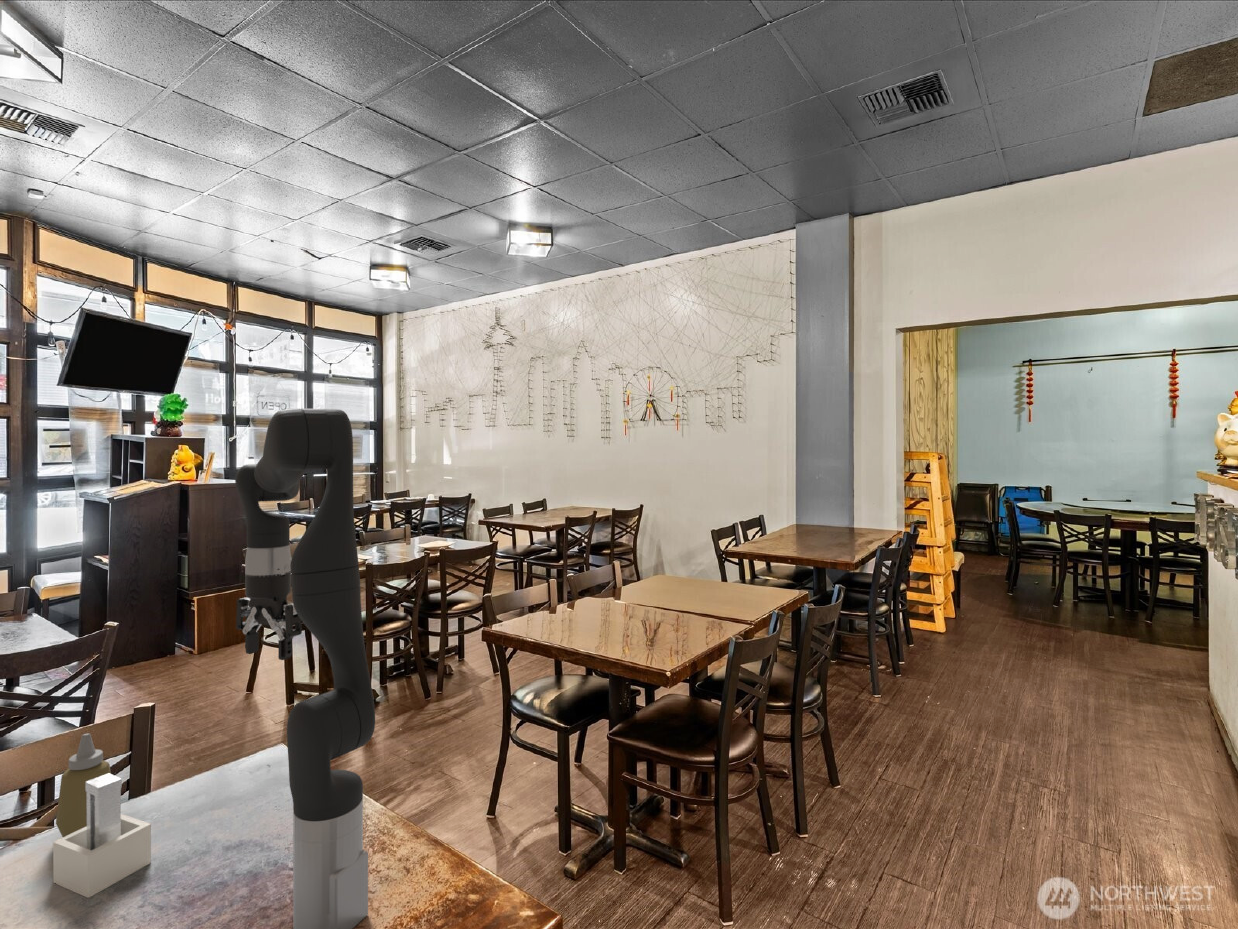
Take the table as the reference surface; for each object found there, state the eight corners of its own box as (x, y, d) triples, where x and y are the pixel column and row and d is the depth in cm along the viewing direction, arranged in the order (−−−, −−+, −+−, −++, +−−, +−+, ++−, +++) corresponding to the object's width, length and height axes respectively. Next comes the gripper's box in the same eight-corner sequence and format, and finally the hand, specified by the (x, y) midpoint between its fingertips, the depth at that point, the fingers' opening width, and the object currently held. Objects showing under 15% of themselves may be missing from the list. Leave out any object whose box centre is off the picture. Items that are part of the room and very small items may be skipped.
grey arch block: (121, 864, 102) (121, 779, 102) (98, 875, 100) (98, 788, 99) (109, 856, 104) (108, 773, 104) (85, 868, 101) (85, 782, 101)
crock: (150, 862, 104) (150, 824, 104) (88, 898, 96) (88, 856, 96) (116, 849, 108) (116, 812, 108) (53, 882, 99) (53, 842, 99)
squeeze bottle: (114, 816, 117) (114, 721, 117) (115, 837, 111) (115, 736, 111) (57, 833, 112) (56, 733, 112) (54, 855, 106) (54, 750, 106)
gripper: (223, 570, 117) (223, 657, 117) (278, 576, 112) (278, 667, 112) (259, 564, 124) (259, 645, 124) (313, 569, 119) (313, 654, 119)
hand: (268, 655), depth 118 cm, fingers open, 8 cm apart
